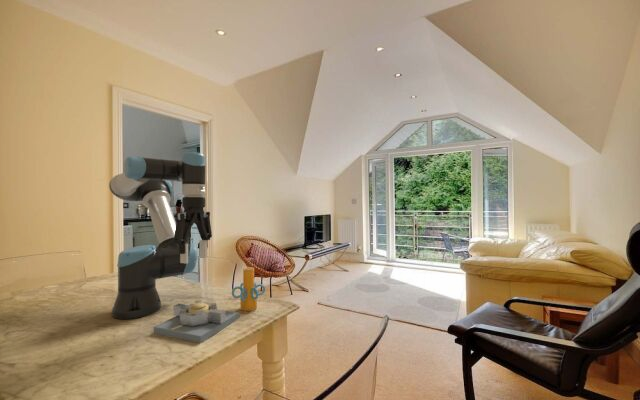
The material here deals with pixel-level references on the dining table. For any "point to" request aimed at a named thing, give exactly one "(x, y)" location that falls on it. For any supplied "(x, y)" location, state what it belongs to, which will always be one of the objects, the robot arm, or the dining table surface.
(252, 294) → the orange post with rings
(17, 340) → the dining table surface
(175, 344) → the dining table surface
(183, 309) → the grey curved saddle piece
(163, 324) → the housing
